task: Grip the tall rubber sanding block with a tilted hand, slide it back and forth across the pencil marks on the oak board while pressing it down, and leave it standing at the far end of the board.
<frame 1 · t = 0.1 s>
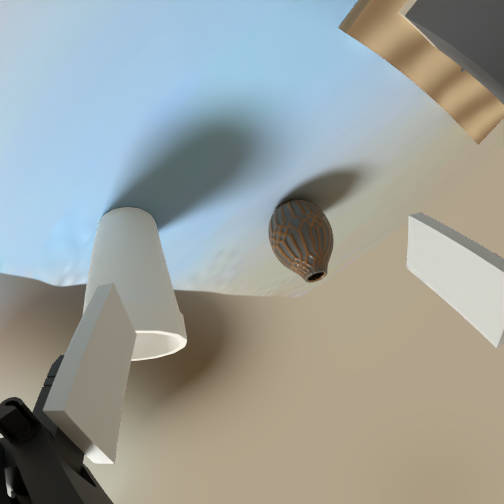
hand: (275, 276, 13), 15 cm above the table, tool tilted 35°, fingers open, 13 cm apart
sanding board: (472, 44, 18), on the table
vase: (290, 209, 36), on the table
foam cup: (126, 225, 31), on the table
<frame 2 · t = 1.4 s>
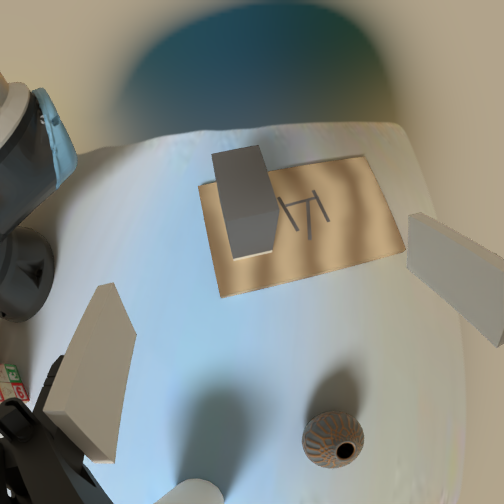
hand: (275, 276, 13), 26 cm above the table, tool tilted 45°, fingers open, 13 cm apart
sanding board: (302, 219, 42), on the table
vase: (325, 432, 33), on the table
foam cup: (199, 497, 29), on the table
sanding block: (245, 228, 40), point 1 cm above the table, touching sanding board
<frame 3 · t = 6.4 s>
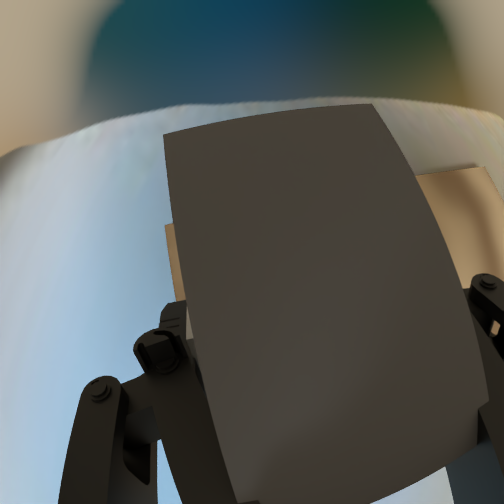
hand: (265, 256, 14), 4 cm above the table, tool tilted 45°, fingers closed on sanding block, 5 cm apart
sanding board: (402, 303, 17), on the table
sanding block: (281, 339, 16), point 1 cm above the table, touching gripper, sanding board
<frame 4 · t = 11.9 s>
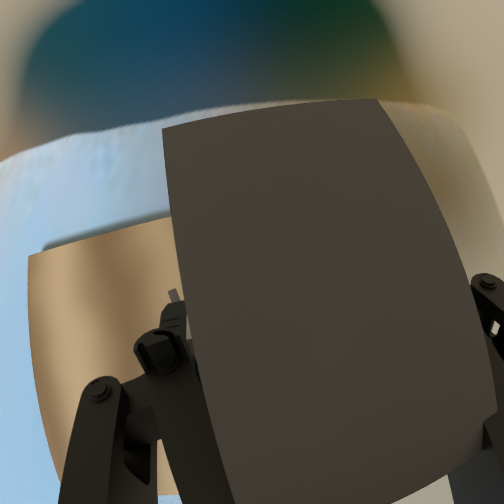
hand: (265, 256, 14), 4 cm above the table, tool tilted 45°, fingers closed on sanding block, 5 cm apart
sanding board: (233, 345, 17), on the table
sanding block: (282, 340, 15), point 1 cm above the table, touching gripper
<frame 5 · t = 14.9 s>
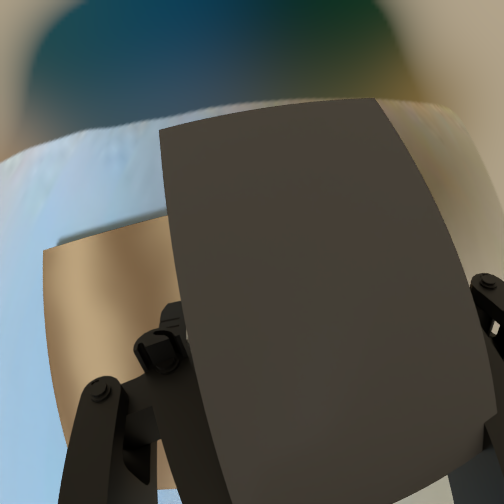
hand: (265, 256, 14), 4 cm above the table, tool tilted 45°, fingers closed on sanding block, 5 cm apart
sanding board: (255, 334, 17), on the table
sanding block: (282, 340, 15), point 2 cm above the table, touching gripper
when the fingers open (4 cm above the table, at t = 17.4 s): sanding block stays where it is, resting on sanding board.
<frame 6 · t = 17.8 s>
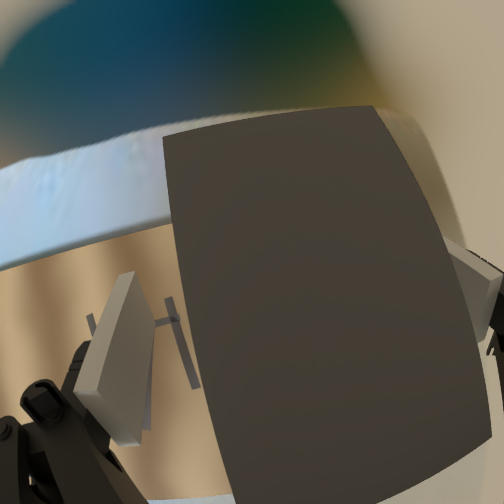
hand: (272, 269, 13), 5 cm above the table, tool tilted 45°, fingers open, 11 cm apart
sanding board: (144, 368, 16), on the table
sanding block: (281, 341, 16), point 1 cm above the table, touching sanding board
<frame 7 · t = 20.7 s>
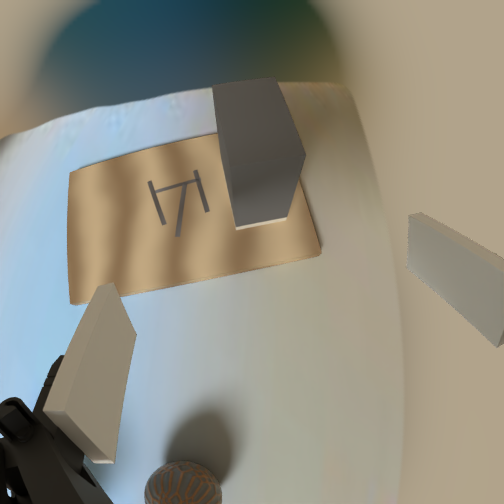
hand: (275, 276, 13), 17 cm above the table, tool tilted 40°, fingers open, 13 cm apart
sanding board: (178, 209, 32), on the table
vase: (190, 480, 24), on the table
sanding block: (252, 189, 31), point 1 cm above the table, touching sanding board
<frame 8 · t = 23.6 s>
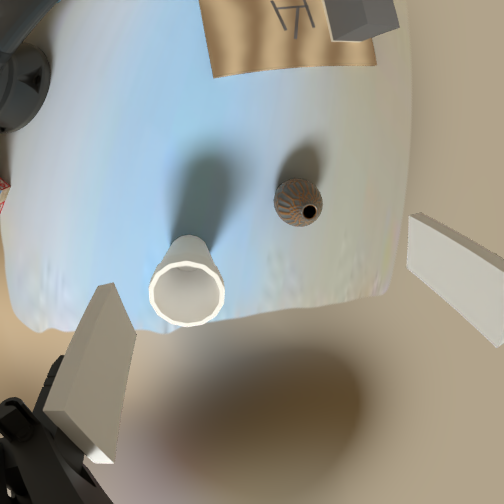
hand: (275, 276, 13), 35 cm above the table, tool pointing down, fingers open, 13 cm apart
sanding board: (290, 21, 36), on the table
vase: (290, 196, 48), on the table
foam cup: (188, 252, 49), on the table
sanding block: (340, 20, 36), point 1 cm above the table, touching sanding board
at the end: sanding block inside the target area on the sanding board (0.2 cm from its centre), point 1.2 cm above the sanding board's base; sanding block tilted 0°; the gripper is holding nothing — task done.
